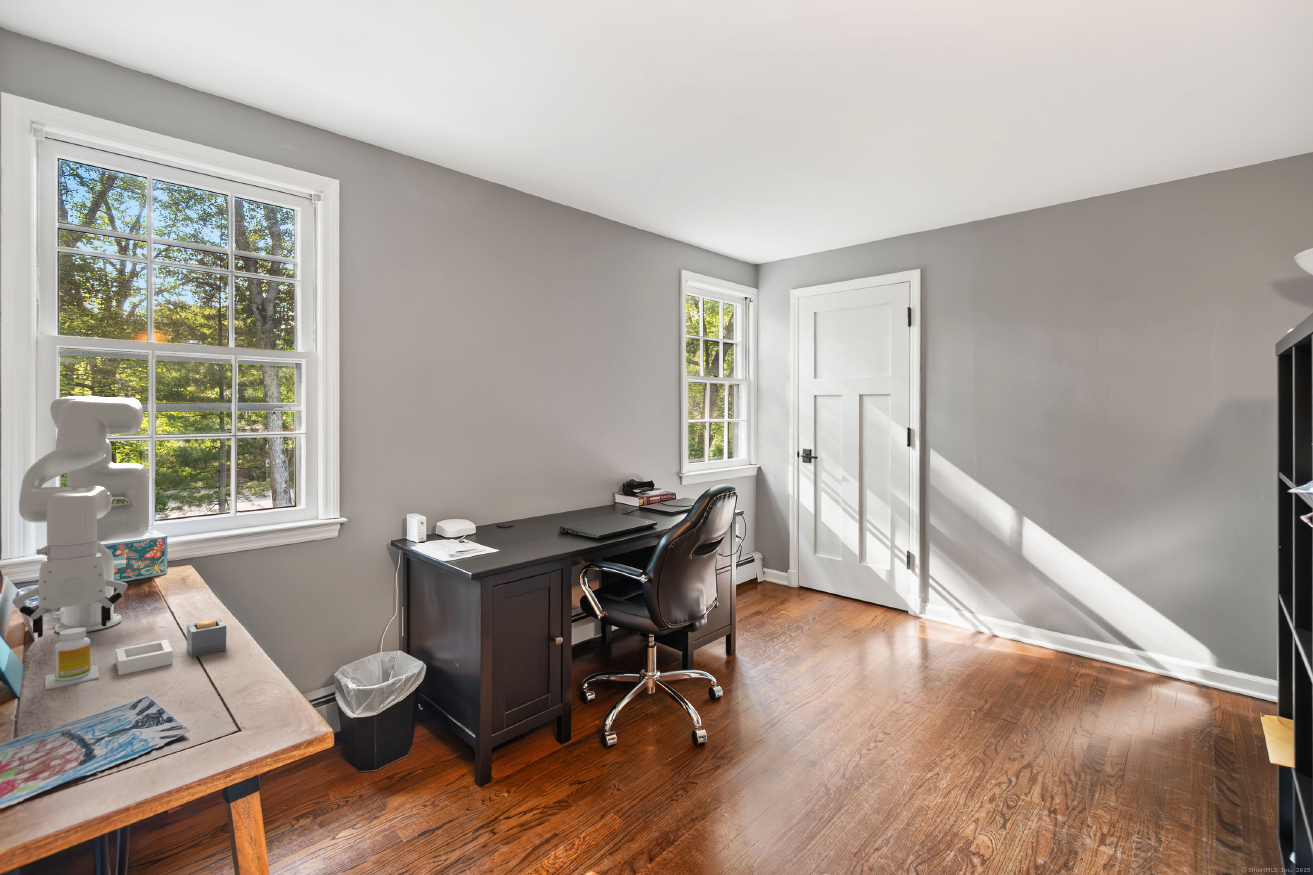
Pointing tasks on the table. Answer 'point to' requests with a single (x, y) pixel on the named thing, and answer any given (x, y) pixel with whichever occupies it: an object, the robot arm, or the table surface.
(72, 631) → the supplement bottle
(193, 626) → the egg pedestal
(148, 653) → the collar
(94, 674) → the mat
